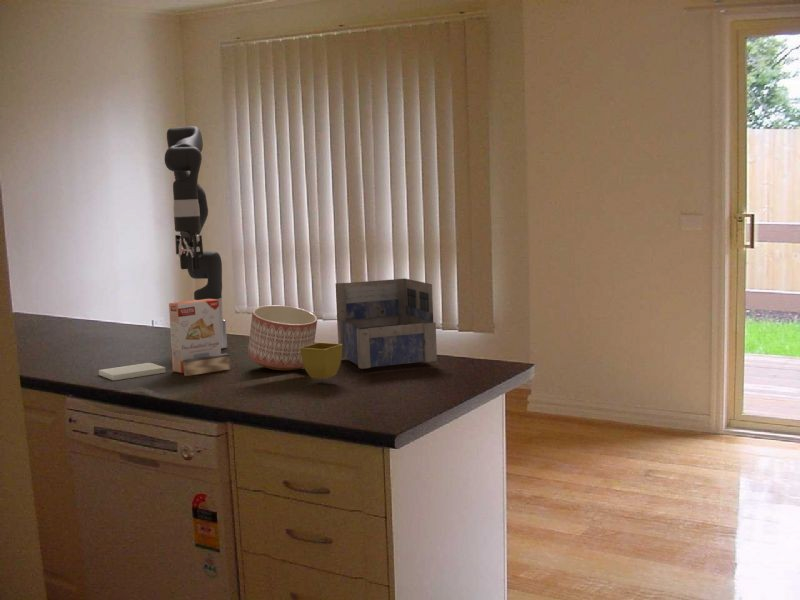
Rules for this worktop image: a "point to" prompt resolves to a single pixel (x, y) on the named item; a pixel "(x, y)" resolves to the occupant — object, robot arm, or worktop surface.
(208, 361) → the tear rail
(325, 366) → the flower pot
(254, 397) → the worktop surface
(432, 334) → the building
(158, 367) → the plate
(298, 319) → the planter
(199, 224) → the robot arm
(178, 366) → the cracker box
